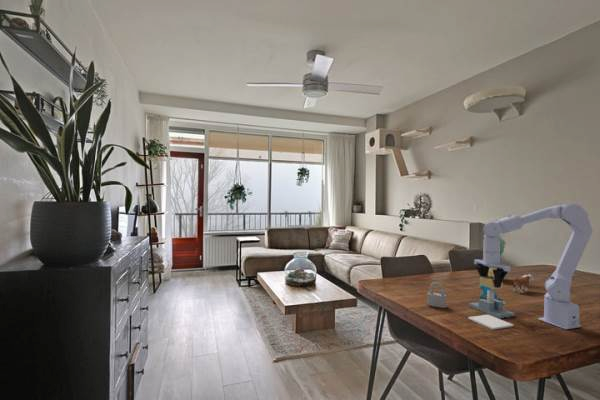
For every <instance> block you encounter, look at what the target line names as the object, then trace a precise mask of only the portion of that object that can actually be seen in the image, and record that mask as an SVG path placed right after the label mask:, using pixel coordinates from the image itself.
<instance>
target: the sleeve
mask: <svg viewBox="0 0 600 400" xmlns="http://www.w3.org/2000/svg"><path fill="white" fill-rule="evenodd" d="M503 281H504V280H503ZM503 281H502V284H501V287H500V288H499V289H502V288H503ZM479 283H480V285H482V286H485V287H488V288H490V289H494V290H495V289H497V288H496V287H495V277H493V276H480V275H479ZM480 285H479V286H480Z"/></svg>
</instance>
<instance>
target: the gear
mask: <svg viewBox="0 0 600 400" xmlns="http://www.w3.org/2000/svg"><path fill="white" fill-rule="evenodd" d="M478 286H479V289H481V292H482V294H480V295H479V296H478V297H479V298H480V299H483V297H486V298H487V290H493V291H494V299H496V300H499V299H500V298H498V294H496V293H495V292H496V289H495V288H494V289H491V288H488V287H485V286H482V285H480V282H479V283H478ZM499 301H500V300H499Z"/></svg>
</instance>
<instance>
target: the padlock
mask: <svg viewBox="0 0 600 400" xmlns="http://www.w3.org/2000/svg"><path fill="white" fill-rule="evenodd" d="M434 286H439V287H440V293H439V292H438V293H437V292H433V291H434ZM426 302H427V304H426V305H427V306H430V307H435V308H442V309H446V308H447V295H446V294H445V287H444V285H443V284H442V283H441V282H437V281H434V282H432V283H430V286H429V292H427V301H426Z"/></svg>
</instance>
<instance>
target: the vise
mask: <svg viewBox="0 0 600 400" xmlns="http://www.w3.org/2000/svg"><path fill="white" fill-rule="evenodd" d="M504 305H506V301H502V300H496V299H494V291H493V290H487V297H486V299H484V298H480V299H478V301H477V302H468V307H470V308H473V309H475V310H477V311H480V312H482V313H485V314H486V315H491V316H493V317H496V318H498V319H505V318H504V317H506V318H512V317H511V316H513V317H515V316H516V313H515V312H512V311H510V310H507V309H505V308H504Z"/></svg>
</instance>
